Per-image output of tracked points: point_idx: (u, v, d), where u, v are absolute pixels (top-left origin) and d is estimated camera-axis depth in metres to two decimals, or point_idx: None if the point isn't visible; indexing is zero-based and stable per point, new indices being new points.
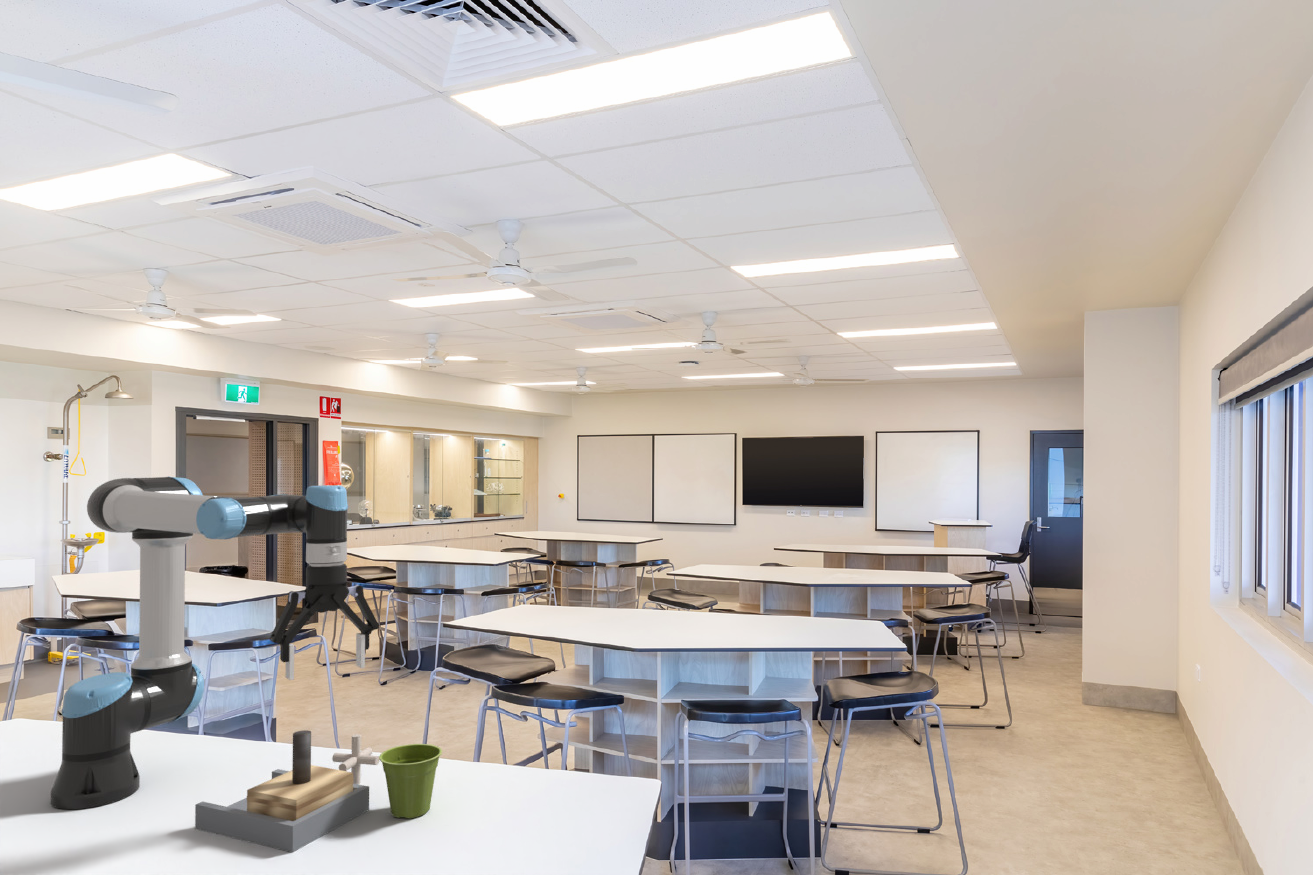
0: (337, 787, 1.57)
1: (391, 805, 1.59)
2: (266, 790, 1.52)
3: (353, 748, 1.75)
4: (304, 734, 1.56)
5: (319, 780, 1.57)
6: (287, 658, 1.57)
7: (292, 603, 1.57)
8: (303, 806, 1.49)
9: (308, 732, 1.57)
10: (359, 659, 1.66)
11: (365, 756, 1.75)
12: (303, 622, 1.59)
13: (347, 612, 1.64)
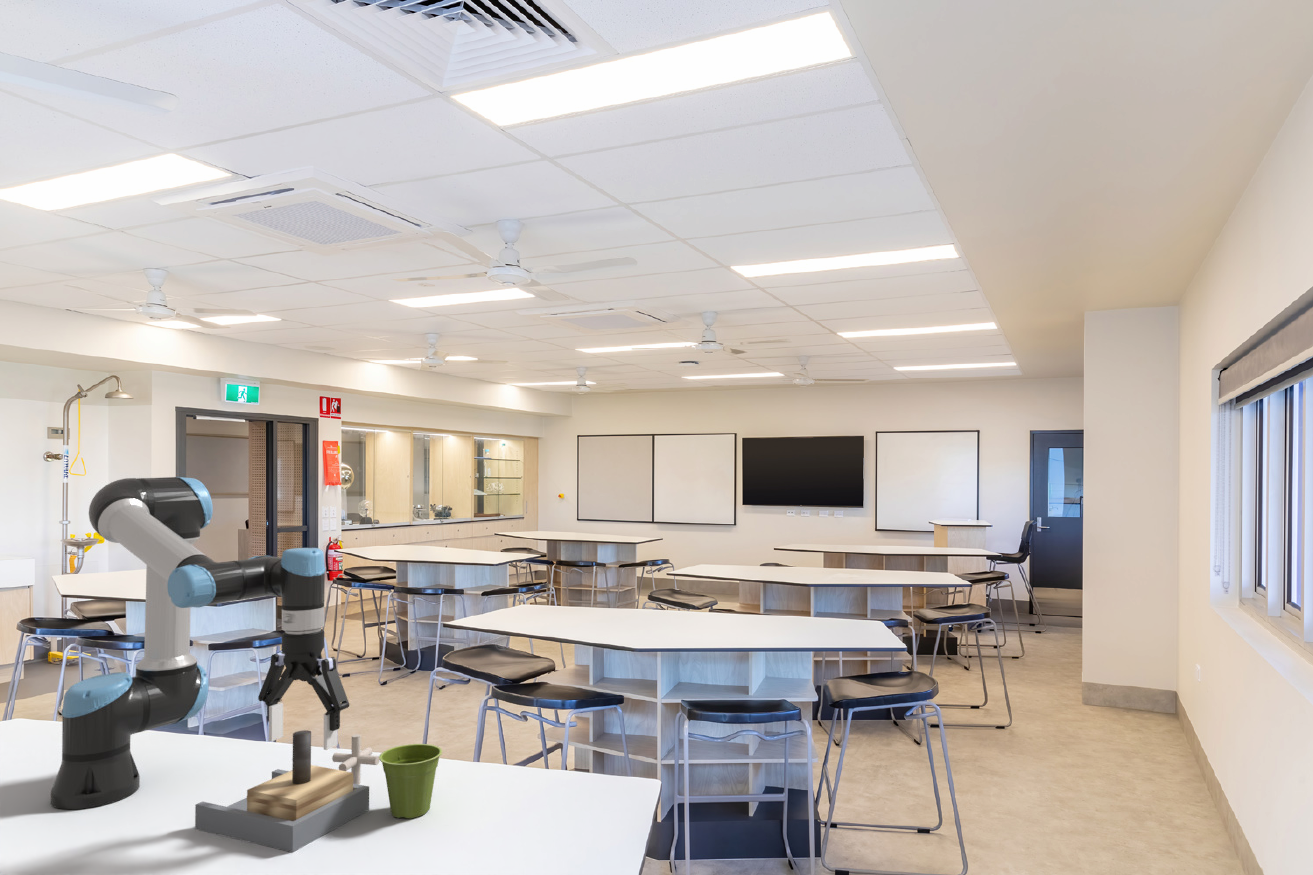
0: (337, 787, 1.57)
1: (391, 805, 1.59)
2: (266, 790, 1.52)
3: (353, 748, 1.75)
4: (304, 734, 1.56)
5: (319, 780, 1.57)
6: None
7: (271, 664, 1.58)
8: (303, 806, 1.49)
9: (308, 732, 1.57)
10: None
11: (365, 756, 1.75)
12: (279, 686, 1.57)
13: (313, 685, 1.54)
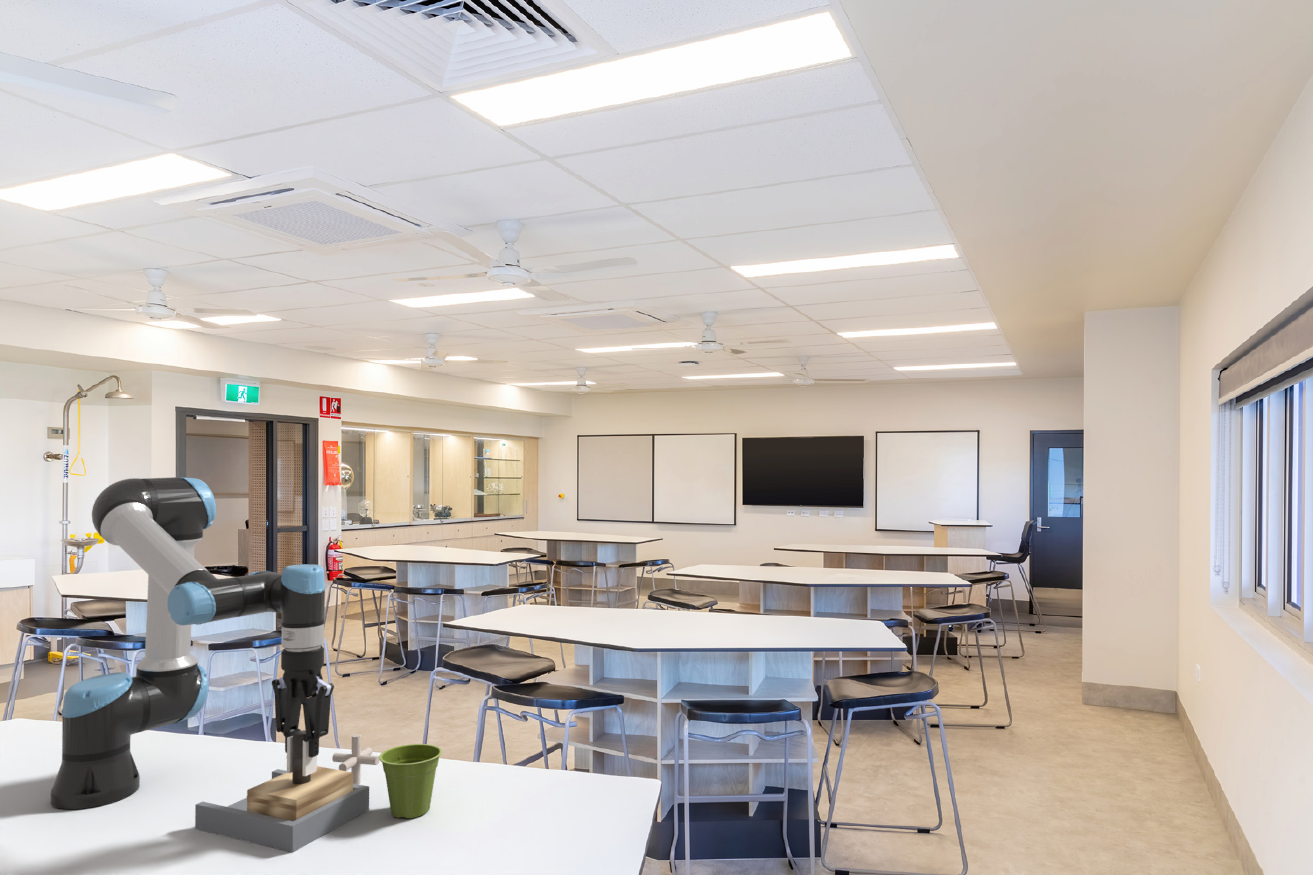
0: (337, 787, 1.57)
1: (391, 805, 1.59)
2: (266, 790, 1.52)
3: (353, 748, 1.75)
4: (304, 734, 1.56)
5: (319, 780, 1.57)
6: None
7: (274, 691, 1.58)
8: (303, 806, 1.49)
9: None
10: None
11: (365, 756, 1.75)
12: (289, 710, 1.56)
13: (303, 706, 1.55)
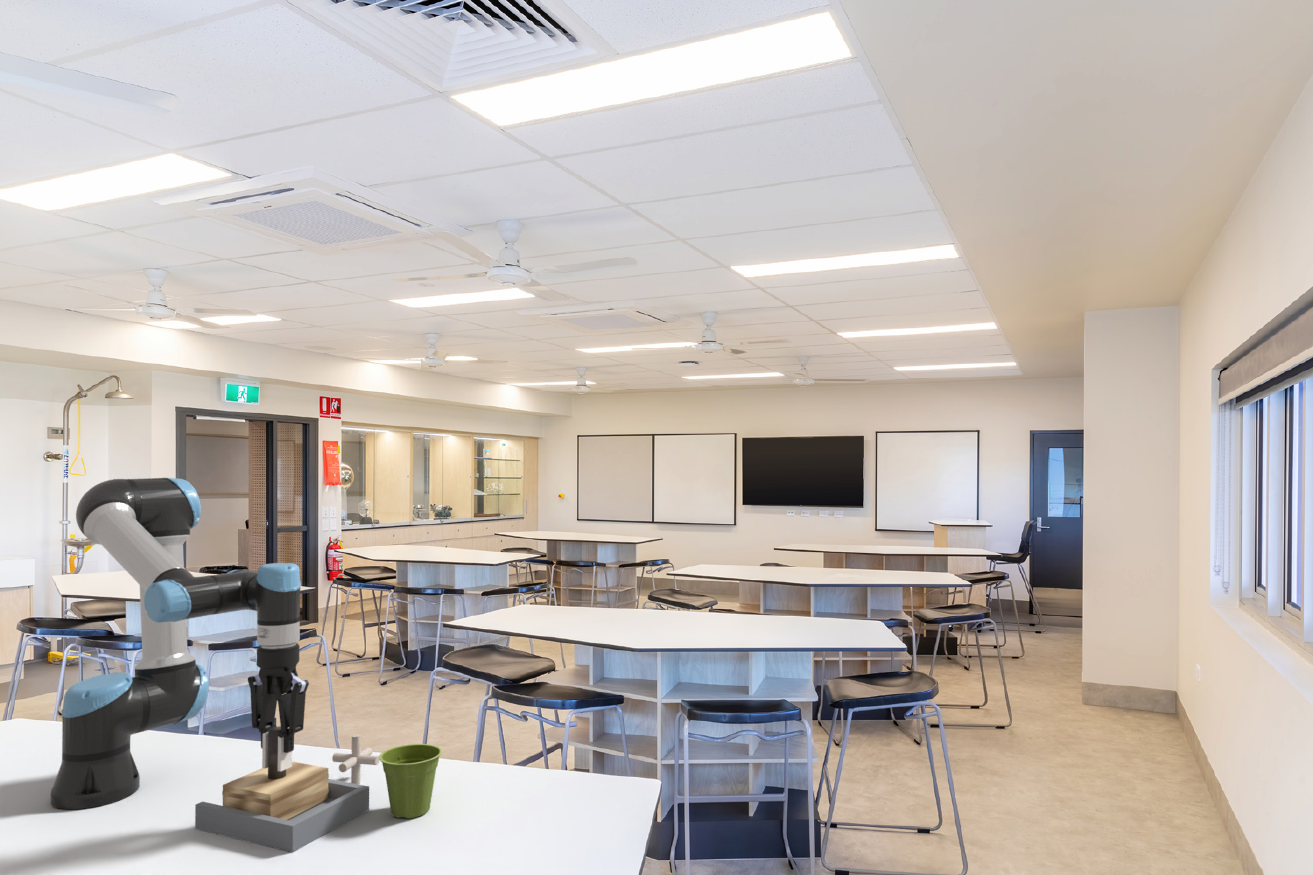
0: (312, 782, 1.59)
1: (391, 805, 1.59)
2: (242, 785, 1.54)
3: (353, 748, 1.75)
4: (279, 730, 1.58)
5: (295, 775, 1.59)
6: None
7: (250, 687, 1.60)
8: (278, 801, 1.52)
9: None
10: None
11: (365, 756, 1.75)
12: (264, 707, 1.59)
13: (279, 702, 1.57)
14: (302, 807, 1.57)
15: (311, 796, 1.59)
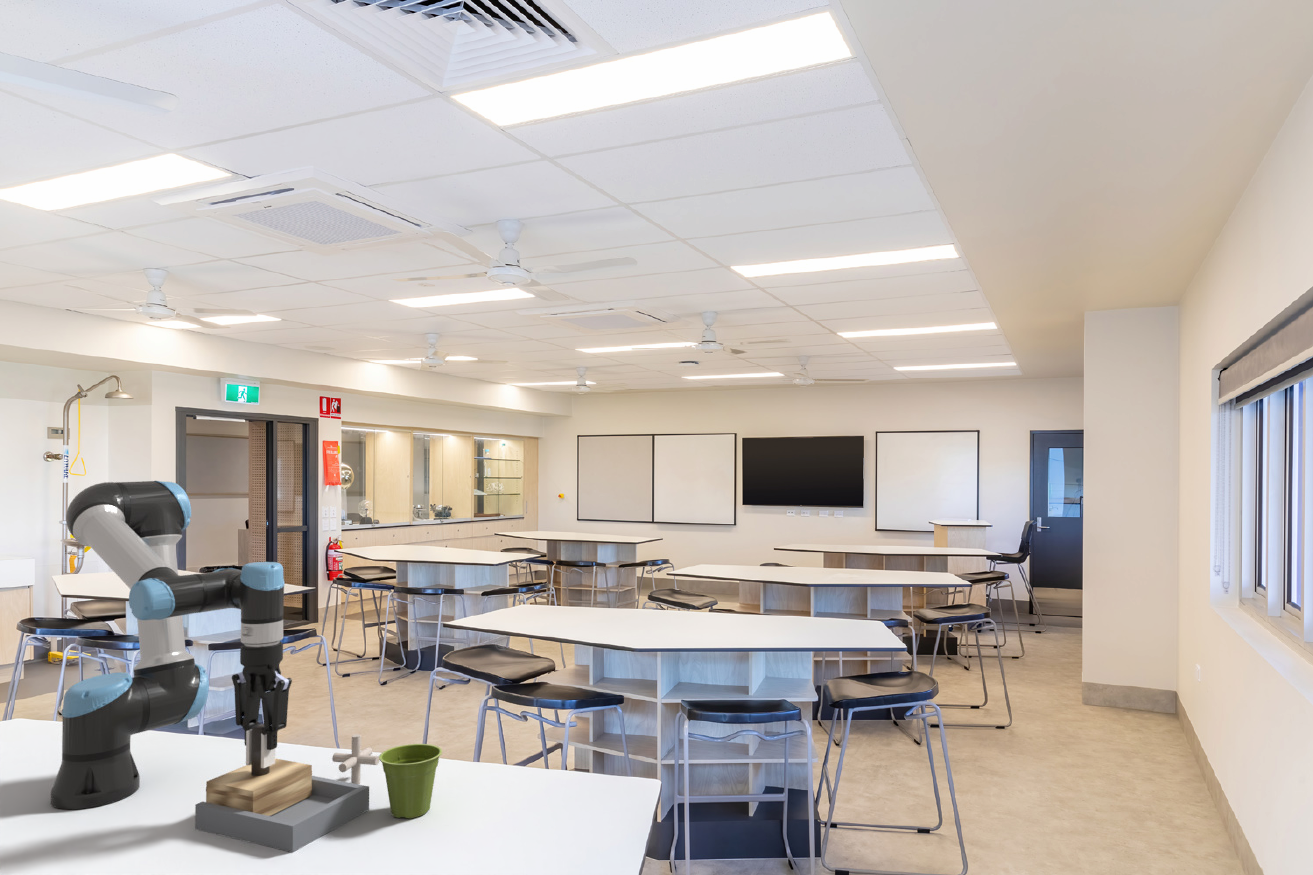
0: (295, 779, 1.61)
1: (391, 805, 1.59)
2: (225, 782, 1.56)
3: (353, 748, 1.75)
4: (263, 727, 1.60)
5: (278, 772, 1.61)
6: None
7: (234, 685, 1.62)
8: (260, 797, 1.53)
9: None
10: None
11: (365, 756, 1.75)
12: (248, 704, 1.60)
13: (262, 700, 1.59)
14: (285, 803, 1.58)
15: (294, 793, 1.61)
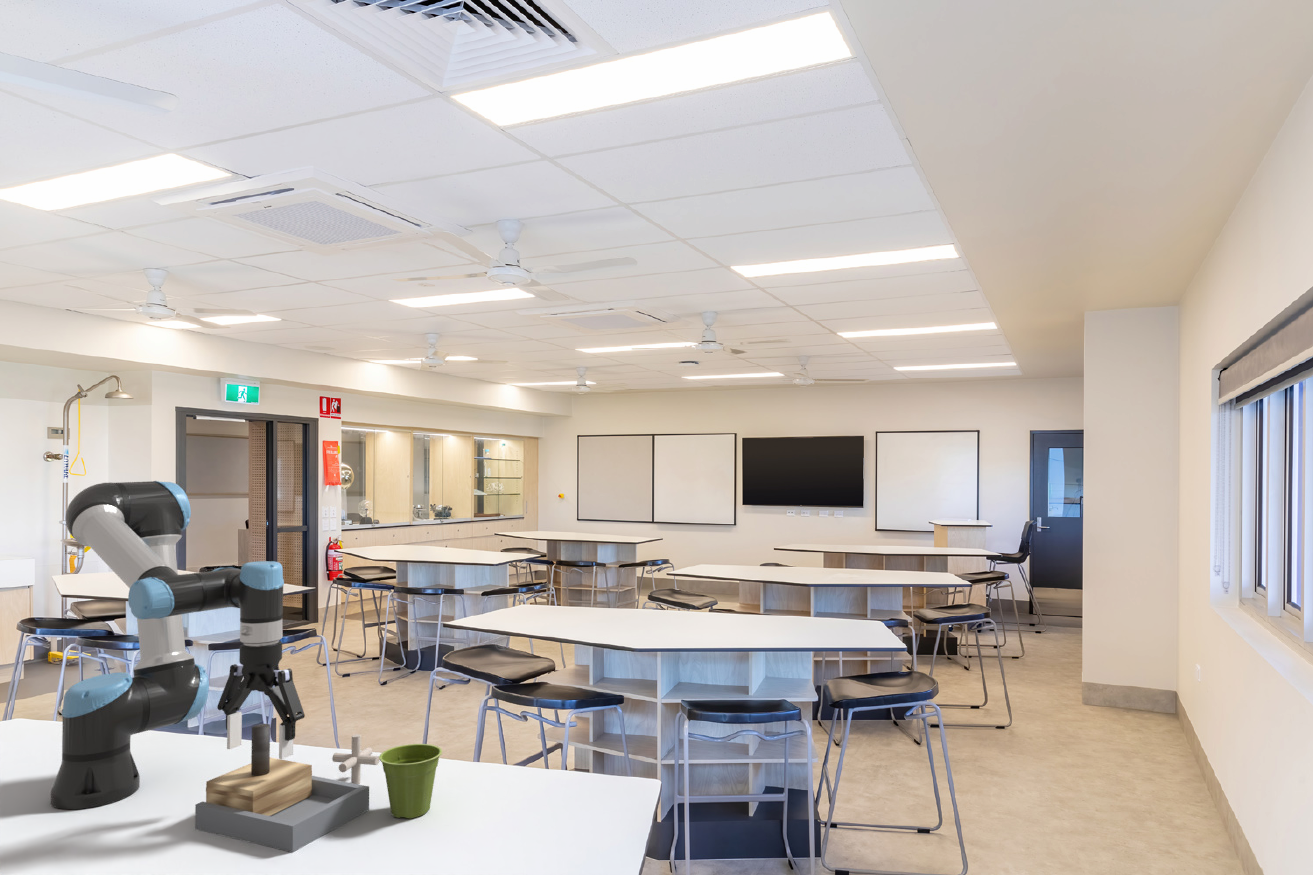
0: (295, 779, 1.61)
1: (391, 805, 1.59)
2: (225, 782, 1.56)
3: (353, 748, 1.75)
4: (263, 727, 1.60)
5: (278, 772, 1.61)
6: None
7: (230, 675, 1.62)
8: (260, 797, 1.53)
9: (267, 725, 1.61)
10: None
11: (365, 756, 1.75)
12: (237, 696, 1.62)
13: (269, 696, 1.58)
14: (285, 803, 1.58)
15: (294, 793, 1.61)
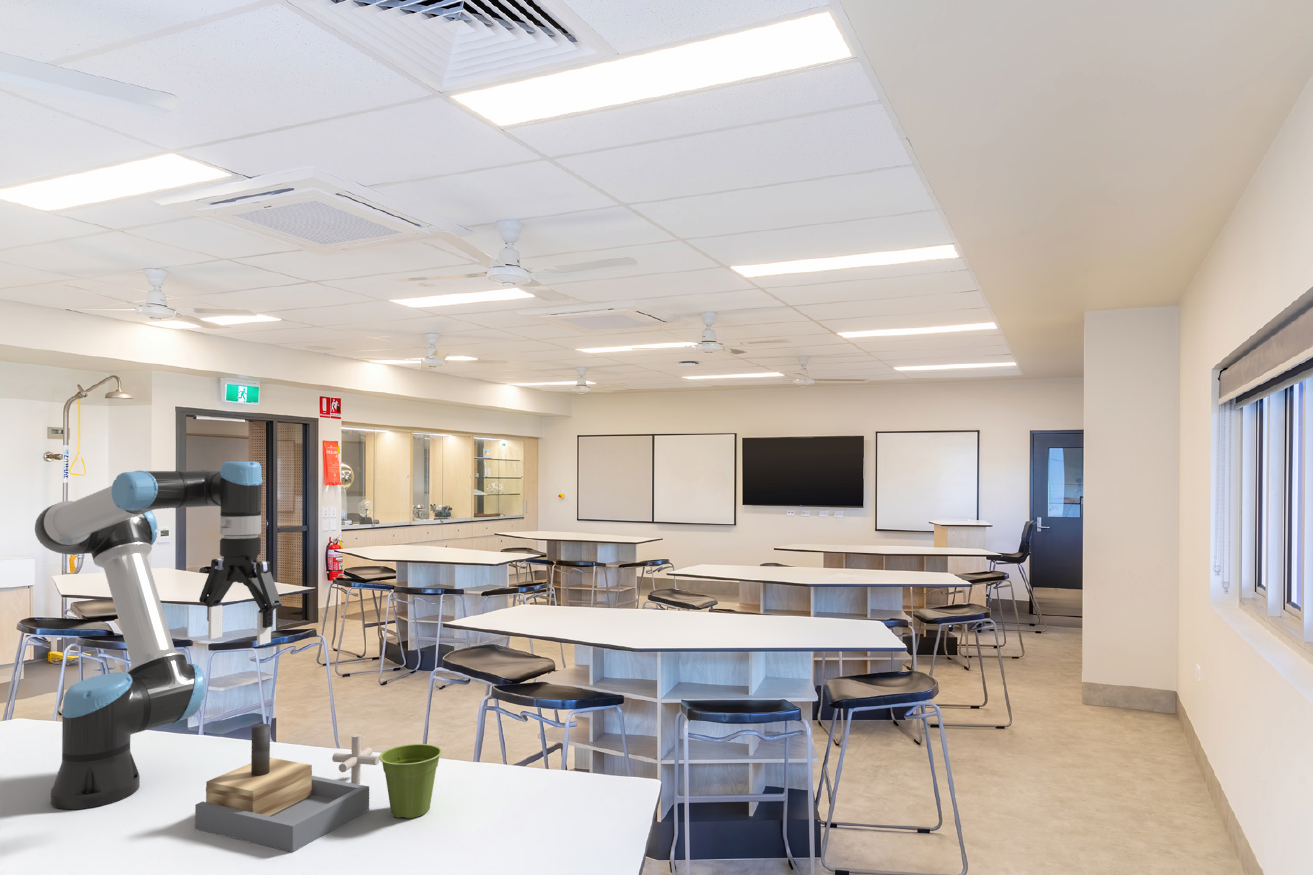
0: (295, 779, 1.61)
1: (391, 805, 1.59)
2: (225, 782, 1.56)
3: (353, 748, 1.75)
4: (263, 727, 1.60)
5: (278, 772, 1.61)
6: None
7: (211, 568, 1.71)
8: (260, 797, 1.53)
9: (267, 725, 1.61)
10: None
11: (365, 756, 1.75)
12: (218, 588, 1.70)
13: (248, 586, 1.67)
14: (285, 803, 1.58)
15: (294, 793, 1.61)
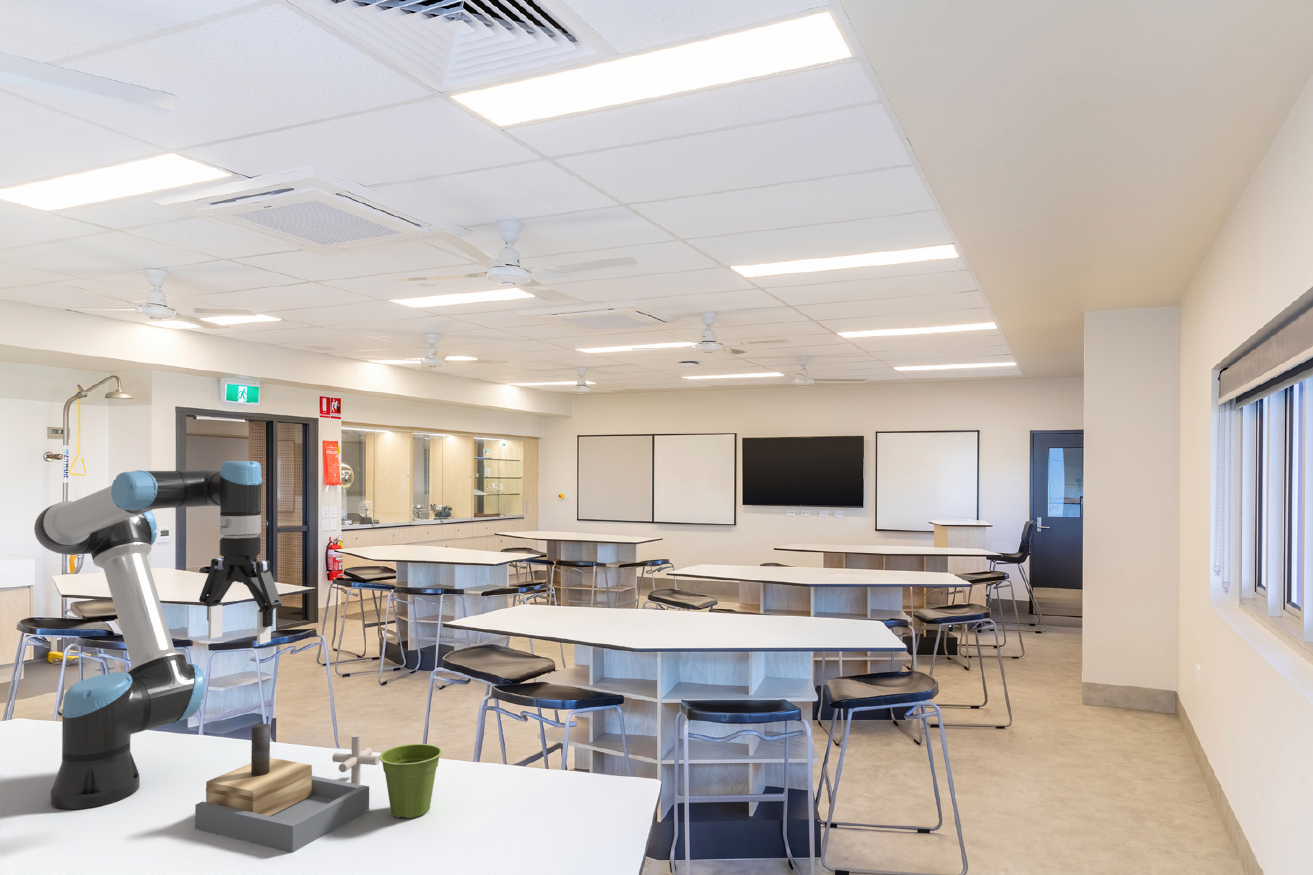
0: (295, 779, 1.61)
1: (391, 805, 1.59)
2: (225, 782, 1.56)
3: (353, 748, 1.75)
4: (263, 727, 1.60)
5: (278, 772, 1.61)
6: None
7: (211, 568, 1.71)
8: (260, 797, 1.53)
9: (267, 725, 1.61)
10: None
11: (365, 756, 1.75)
12: (218, 588, 1.70)
13: (248, 586, 1.67)
14: (285, 803, 1.58)
15: (294, 793, 1.61)
